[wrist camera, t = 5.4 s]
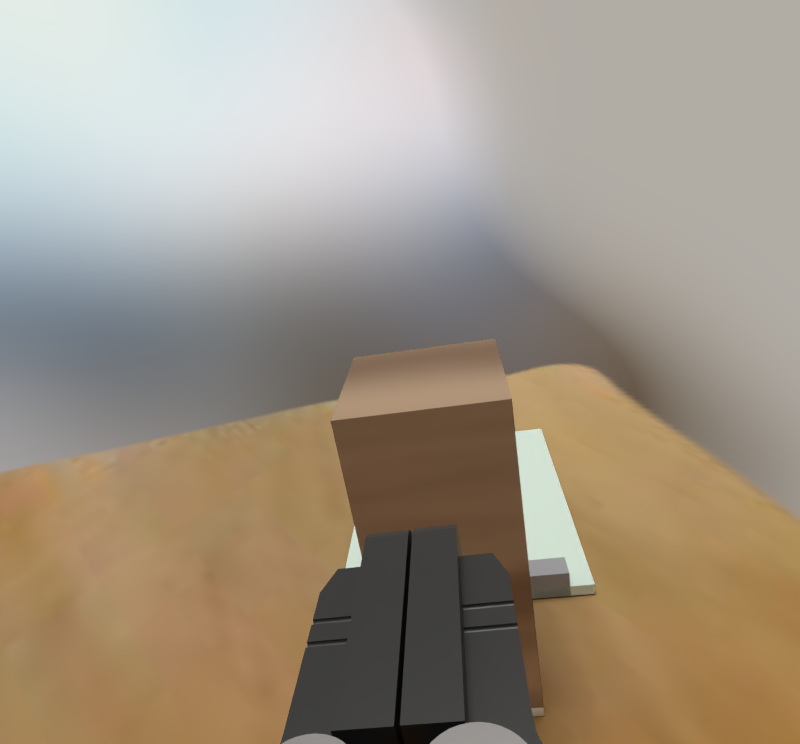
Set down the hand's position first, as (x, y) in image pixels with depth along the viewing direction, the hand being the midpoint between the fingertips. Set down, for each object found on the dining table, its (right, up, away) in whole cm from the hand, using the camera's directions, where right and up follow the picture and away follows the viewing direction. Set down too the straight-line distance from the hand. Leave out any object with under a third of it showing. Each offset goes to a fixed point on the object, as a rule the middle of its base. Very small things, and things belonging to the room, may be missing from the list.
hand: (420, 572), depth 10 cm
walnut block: (+2, -8, +13) cm, 15 cm away
